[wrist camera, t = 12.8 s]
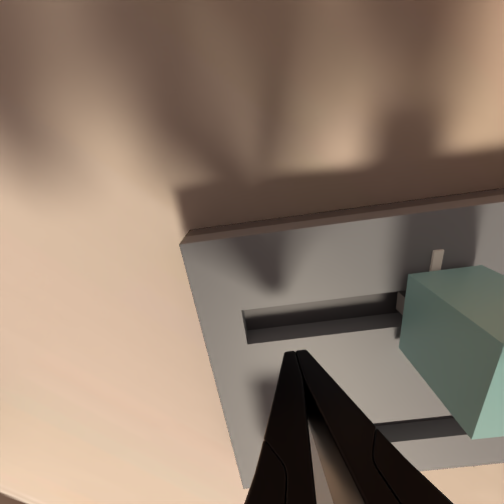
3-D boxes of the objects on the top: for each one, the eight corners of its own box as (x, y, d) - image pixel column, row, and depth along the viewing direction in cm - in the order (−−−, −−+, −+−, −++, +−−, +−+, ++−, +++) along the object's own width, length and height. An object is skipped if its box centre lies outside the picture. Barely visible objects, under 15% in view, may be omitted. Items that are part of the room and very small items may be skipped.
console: (623, 172, 11) (706, 175, 9) (512, 426, 18) (545, 460, 16) (190, 230, 11) (178, 245, 9) (243, 454, 18) (243, 490, 16)
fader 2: (461, 255, 11) (635, 336, 6) (445, 326, 12) (574, 436, 7) (394, 264, 11) (512, 350, 6) (387, 333, 12) (476, 446, 8)
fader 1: (317, 406, 14) (353, 532, 10) (319, 446, 16) (351, 573, 11) (268, 411, 14) (279, 539, 10) (274, 451, 16) (286, 579, 11)
